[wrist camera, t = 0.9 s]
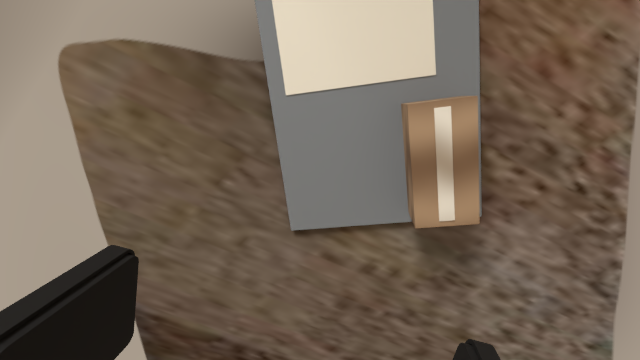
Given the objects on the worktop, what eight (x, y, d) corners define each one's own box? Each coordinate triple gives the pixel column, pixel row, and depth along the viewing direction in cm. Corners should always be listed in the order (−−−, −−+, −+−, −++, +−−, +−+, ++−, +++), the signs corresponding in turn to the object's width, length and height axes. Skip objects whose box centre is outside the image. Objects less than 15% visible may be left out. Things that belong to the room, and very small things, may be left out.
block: (464, 207, 30) (480, 224, 26) (408, 211, 30) (415, 228, 27) (461, 95, 27) (478, 95, 24) (401, 103, 28) (407, 104, 24)
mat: (479, 214, 30) (482, 216, 30) (292, 228, 33) (291, 230, 32) (474, -81, 25) (478, -86, 24) (250, -36, 27) (248, -39, 27)
